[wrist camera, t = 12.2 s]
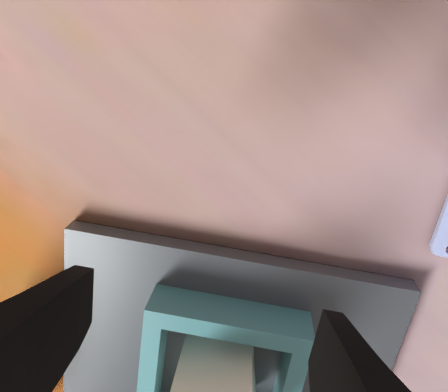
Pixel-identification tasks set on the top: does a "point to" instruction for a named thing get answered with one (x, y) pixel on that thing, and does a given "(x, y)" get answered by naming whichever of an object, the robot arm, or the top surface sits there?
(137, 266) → the organizer
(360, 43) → the top surface
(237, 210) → the top surface
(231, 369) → the cream block
